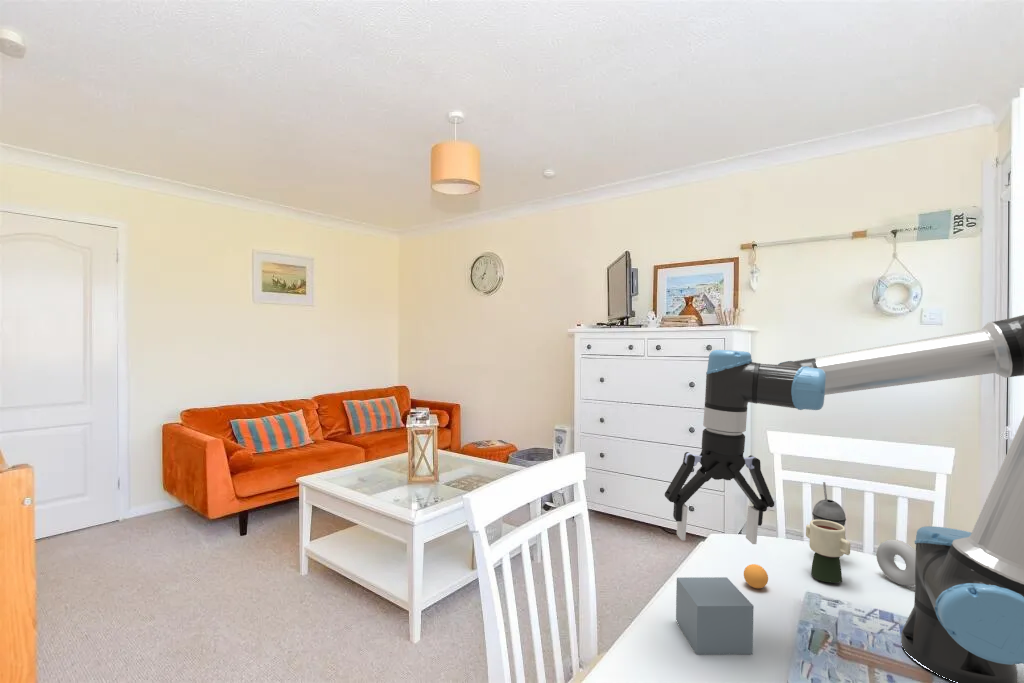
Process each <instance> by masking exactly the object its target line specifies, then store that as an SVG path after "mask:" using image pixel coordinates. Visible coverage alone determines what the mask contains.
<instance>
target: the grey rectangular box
mask: <svg viewBox="0 0 1024 683" xmlns="http://www.w3.org/2000/svg"><path fill="white" fill-rule="evenodd" d="M675 589H676V596H675V597H676V598H675V599H676V600H675V601H676V602H675V603H676V604H675V606H676V607H675V608H676V609H675V621H676V620H677V622H678V623H677V622H676V623H677V625H678V624H679V625H678V627H679V626H680V627H679V628H680V630H681V631H683V632H682V633H683V635H684V637H685V638H686V640H687V642H688V643H689V644H690V646H691V647H692V649H693V651H694V653H695V655H696V656H697V655H699V656H701V655H705V656H706V655H710V656H711V655H712V656H713V655H753V654H754V653H753V652H754V651H753V647H754V645H753V644H754V605H753V604H752V602H750V600H748V598H747V597H746V596H745V595H744V594H743V593H742V592H741V591H740V590H739V588H738V587H737V586H736V585H735V584H734V583H733V582H732V581H731V580H730V579H729V578H728V577H726V576H725V577H724V576H723V577H722V576H721V577H719V576H718V577H713V576H712V577H709V576H708V577H707V576H706V577H705V576H704V577H701V576H700V577H698V576H697V577H692V576H691V577H686V576H685V577H676V588H675Z"/></svg>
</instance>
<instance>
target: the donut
mask: <svg viewBox="0 0 1024 683" xmlns="http://www.w3.org/2000/svg"><path fill="white" fill-rule="evenodd" d="M895 556H900V558H901V559H902V560H903V561H904V563H905V569H902V568H899V566H898V565H897V564H896V562H895ZM915 560H916V548H914V547H912V546H911V545H910V544H908V543H907V542H905V541H903V540H898V539H887V540H885V541H883V542H880V544H879V546H877V549H876V562H877V564H878V566H879V568H880V571H882V573H883V574H884V575H885V576H886V577H887V578H888V579H889V580H891V581H892V582H894V583H896V584H897V585H901V586H905V587H913V586H914V587H915Z"/></svg>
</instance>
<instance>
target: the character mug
mask: <svg viewBox="0 0 1024 683" xmlns="http://www.w3.org/2000/svg"><path fill="white" fill-rule="evenodd" d="M805 536H806V538H807V539H809V548H810V549H811V551H813V552H814V554H813V556H812V557H813V558H812V562H811V568H810V574H811V576H812V578H814V579H816V580H819V581H820V582H824V583H843V574H842V567H841V559H840V558H839V557H843V556H844V555H846V556H850V554H851V542H850V541H849V540H847V538H846V527H845V525H844V526H843V525H841V524H839V523H836V522H832V521H827V520H814V519H812V520H810V522H809V524H806V527H805Z"/></svg>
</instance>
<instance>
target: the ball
mask: <svg viewBox="0 0 1024 683" xmlns="http://www.w3.org/2000/svg"><path fill="white" fill-rule="evenodd" d="M743 578H744V580H745V582H746V583H747V584H748V585H749V586H750V587H752V588H754V589H762V588H764V587H766V586H767V584H768V581H769V575H768V573H767V571H766V569H765V568H763V567H762V566H761V565H760V564H756V563H751V564H748V565H747V566H746V567H745V568H744V570H743Z"/></svg>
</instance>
